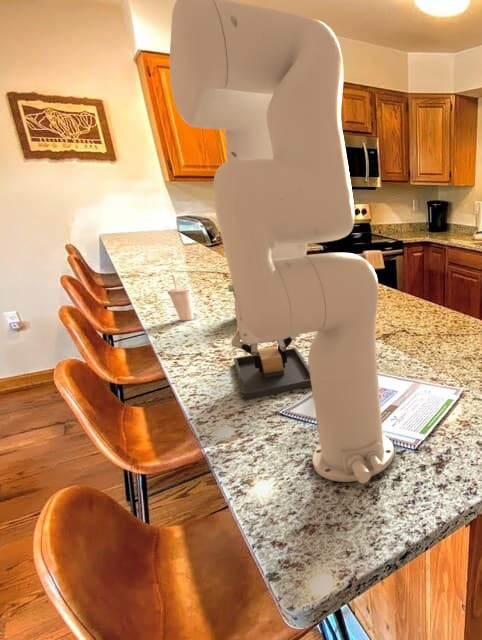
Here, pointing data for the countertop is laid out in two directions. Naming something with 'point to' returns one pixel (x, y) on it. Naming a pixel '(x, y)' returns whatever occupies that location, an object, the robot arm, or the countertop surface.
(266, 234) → the robot arm
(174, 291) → the smoothie
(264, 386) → the tray
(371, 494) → the countertop surface
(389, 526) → the countertop surface
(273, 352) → the wooden block
